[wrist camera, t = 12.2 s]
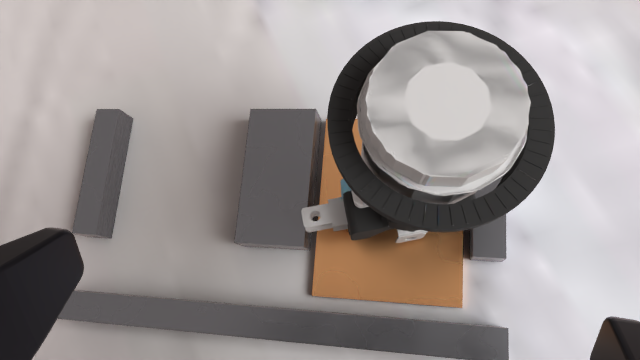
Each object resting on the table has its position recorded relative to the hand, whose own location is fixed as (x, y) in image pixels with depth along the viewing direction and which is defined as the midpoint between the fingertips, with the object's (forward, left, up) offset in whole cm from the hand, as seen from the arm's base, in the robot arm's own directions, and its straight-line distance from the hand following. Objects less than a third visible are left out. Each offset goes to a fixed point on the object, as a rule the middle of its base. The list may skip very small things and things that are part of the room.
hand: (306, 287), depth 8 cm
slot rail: (-4, +4, -13) cm, 14 cm away
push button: (0, +4, -12) cm, 13 cm away
